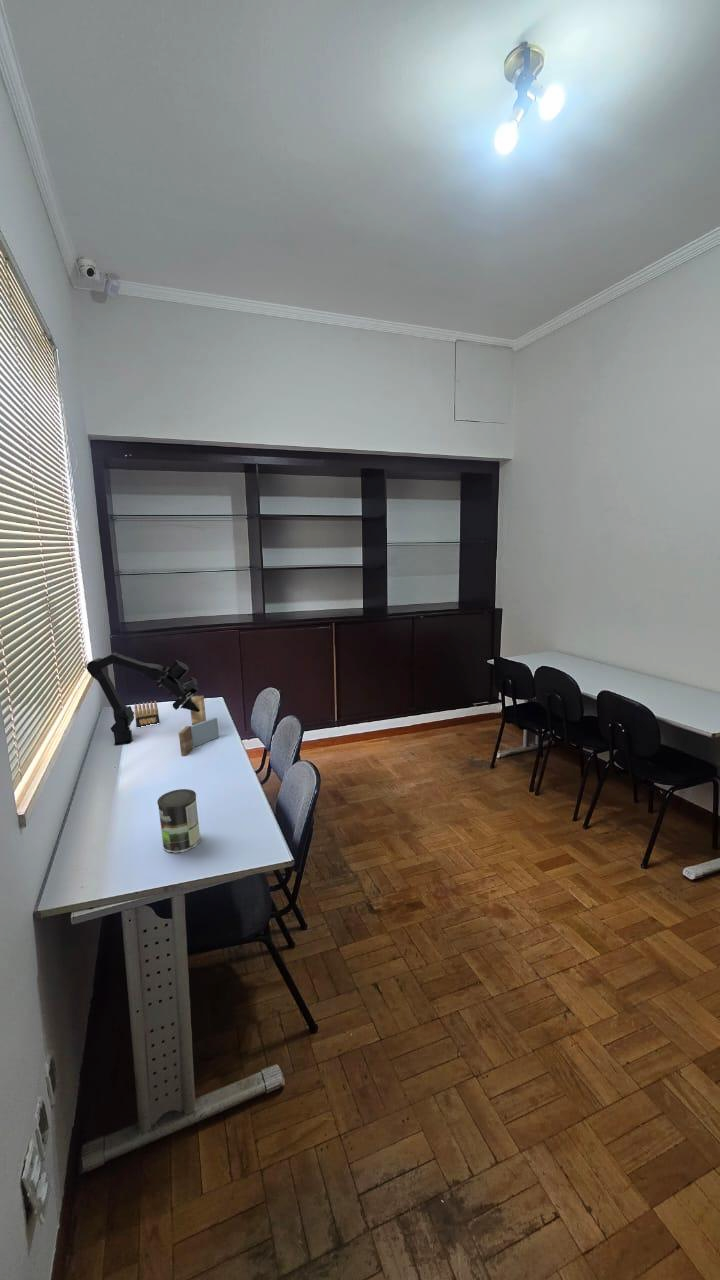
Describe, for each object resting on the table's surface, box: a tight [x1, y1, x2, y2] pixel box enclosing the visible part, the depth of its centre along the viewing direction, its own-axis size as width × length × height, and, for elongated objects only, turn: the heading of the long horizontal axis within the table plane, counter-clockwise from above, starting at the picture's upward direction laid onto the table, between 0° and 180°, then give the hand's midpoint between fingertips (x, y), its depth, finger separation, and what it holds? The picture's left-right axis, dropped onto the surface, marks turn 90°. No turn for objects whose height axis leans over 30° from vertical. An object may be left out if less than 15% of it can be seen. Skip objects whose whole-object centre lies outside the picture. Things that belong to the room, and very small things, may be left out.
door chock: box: [190, 695, 207, 726], centre depth 228 cm, size 5×4×12 cm
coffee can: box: [157, 788, 201, 854], centre depth 146 cm, size 10×10×14 cm
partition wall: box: [178, 725, 194, 757], centre depth 213 cm, size 2×8×10 cm, turn 177°
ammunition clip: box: [134, 700, 161, 728], centre depth 249 cm, size 11×2×12 cm, turn 113°
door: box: [190, 717, 220, 748], centre depth 223 cm, size 1×13×9 cm, turn 142°
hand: (200, 709), depth 228 cm, fingers closed on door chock, 4 cm apart
